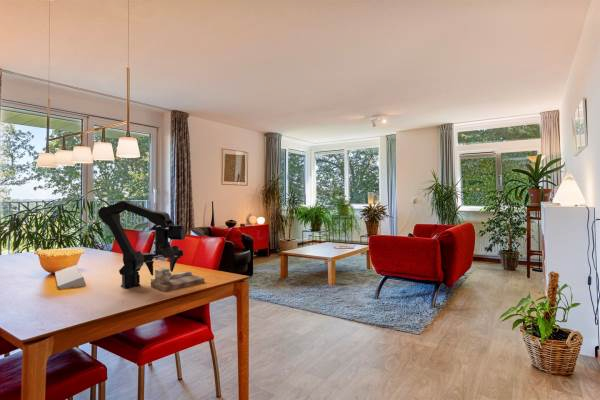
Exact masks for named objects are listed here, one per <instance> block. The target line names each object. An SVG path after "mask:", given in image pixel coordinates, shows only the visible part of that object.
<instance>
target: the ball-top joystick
mask: <svg viewBox="0 0 600 400" xmlns="http://www.w3.org/2000/svg"><path fill="white" fill-rule="evenodd" d="M171 275H172V272H171V271H170V267H169V268H168V267H160V268H155V269H154V278H155V283H158V284H161V283H166V282H170V276H171Z"/></svg>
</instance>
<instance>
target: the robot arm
mask: <svg viewBox="0 0 600 400" xmlns="http://www.w3.org/2000/svg"><path fill="white" fill-rule="evenodd" d="M124 211H127V212H129V213H132V214H135V215H136V216H140V217H142V218H145V219H147V220H148V221H149V222H150V223H152V224H153V226H152V227H151V228H150V229H149V231H154V242H153V245H154V250H153V253H150V252H143V253H142V252H141V251H140V250H137V251H136V250H135V249H134V246H133V245H132V243H131V241H130V240H129V238H128V236H127V234H126V232H125V230H124V228H123V226H122V224H121V215H120V214H122V213H123V212H124ZM97 214H98V217H99V218H100V220H101V221H102V222H103V223H104V224H105V225H106V226H108V227H109V230H110V232H111V234H112V235H113V237H114V239H115V241H116V243H117V245H118V247H119V249H120V251H121V253H122V262H123V263H122V264H123V265H122V267H121V268H119V270H118V272H119V274H120V276H121V284H120V287H121V288H124V289H130V288H135V287H139V286H141V284H140V283H141V282H140V281H141V280H140V278H141V277H140V274H139V271H141V268H142V267H143V266H144V264H145V265H146V267H147V269H148V271H149V273H150V276H154V263H155V261H154V260H153V259H154V258H155V259H156V258H164V259H169V269H170V273H172V272H174V269H175V265H176V263H177V261H178V260H179V259H181V258H182V257H183V256H184V251H183V249H180V248H179V246H178V245H173V246H172V245H171V242H170V241H169V239H170V240H171V241H185V239H186V236H187V231H186V229H185V225H184V224H180V225H179V224H178V225H175V223H174V222H173V221H172V219H171V217H170V214H169V213H168V212H166V211H160V210H152V209H150V208H146V207H144V206H141V205H138V204H136V203H133V202H132V201H130V200H120V201H118V202H116V203H113V204H110V205H108V206H102V207H100V208H99V209H98V212H97Z"/></svg>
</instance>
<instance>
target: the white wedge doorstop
mask: <svg viewBox="0 0 600 400" xmlns="http://www.w3.org/2000/svg"><path fill="white" fill-rule="evenodd" d="M54 274H55V280H56V284H57V287H58V288H59V290H64V289H70V288H76V287H79V288H80V287H84V286H85V287H86V286H87V284H86V281H85V277H84V276H83V274H82V272H81V270H80V268H79V266H78V264H75V265H71V266H68V267H65V268H63V269H60V270H57V271H54Z"/></svg>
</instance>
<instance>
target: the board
mask: <svg viewBox="0 0 600 400" xmlns="http://www.w3.org/2000/svg"><path fill="white" fill-rule="evenodd" d="M203 283H205V277H201V276H199V275H196V274H193V271H190V270H189V271H184V272H178V273H173V274H171V276H170V282H166V283H161V284H158V283H155V277H153V278H150V287H151V288H154V289H157V290H160V291H162V292H164V293H165V292H167V291H169V292H170V291H172V290H179V289H181V288H186V287H190V286H195V285H199V284H203Z"/></svg>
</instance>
